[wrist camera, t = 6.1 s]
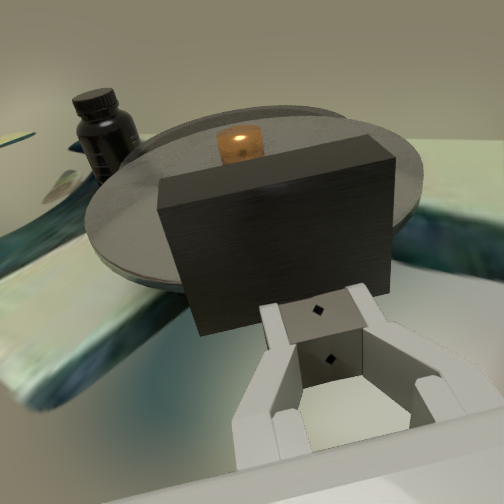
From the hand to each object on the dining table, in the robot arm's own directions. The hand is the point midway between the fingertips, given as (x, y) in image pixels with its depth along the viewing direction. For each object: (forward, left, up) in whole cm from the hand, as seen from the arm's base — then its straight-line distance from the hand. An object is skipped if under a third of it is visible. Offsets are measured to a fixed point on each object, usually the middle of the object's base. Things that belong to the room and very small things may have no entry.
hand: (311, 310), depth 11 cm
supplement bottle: (+45, +5, -13) cm, 47 cm away
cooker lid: (+15, -3, -4) cm, 16 cm away
